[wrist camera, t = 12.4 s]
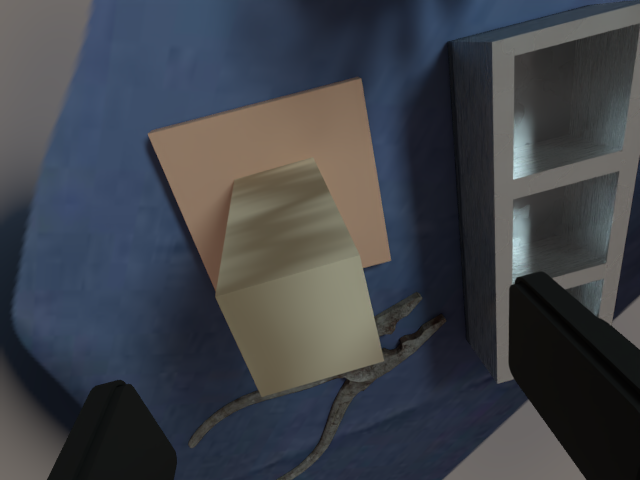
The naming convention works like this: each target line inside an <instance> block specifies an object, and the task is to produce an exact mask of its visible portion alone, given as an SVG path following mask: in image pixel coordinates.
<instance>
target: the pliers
mask: <svg viewBox="0 0 640 480" xmlns="http://www.w3.org/2000/svg"><path fill="white" fill-rule="evenodd" d="M421 300H422V297H421V295H420V293H418V292H416V293H414V294H412V295H411V296H409V297H407V298H405V299H404V300H402V301H400V302H399V303H397V304H395V305H393V306H392V307H390V308H388V309H387V310H385V311H383V312H381V313H380V314H378V315H376V316H375V317H374V319H375V323H376V327H377V332H378V336H379V337H380V336H382V335H383V334H392V333H393V332H394V330H395V327H396V326H395V325H396V324H397V322H398V321H399V320H400V319H402V318H404V317H406V316H408V314H409V313H410V312H411V311H412V310H413V309H414V308H415V306H416V305H417V304H418V303H419V302H420V301H421ZM445 322H446V319H445V318H444V316H443V315H442V314H440V315H438V316H437V317H435V318H433V319H432V320H430V321H428V322H427V323H425V324H423V325H422V326H421V328H420V329H419V330H418V331H417V332H416V333H414V334H410V335H405V336H403V337H401V338H400V345H399V346H398V347H397V348H396V349H392V350H388V349H385V348H382V353H383V358H384V361H383V362H380V363H376V364H373V365H370V366H366V367H363V368H359V369H356V370H353V371H349V372H346V373H342V374H339V375H335V376H332V377H329V378H325V379H322V380H318V381H315V382H312V383H308V384H305V385H301V386H298V387H295V388H291V389H288V390H284V391H281V392H278V393H274V394H271V395H267V396H264V397H261V395H260V392H259V390H258V391H255V392H252V393H250V394H247V395H245V396H242V397H240V398H238V399H236V400H234V401H232V402H230V403H229V404H227V405H226V406H224V407H223V408H221V409H220V410H218V411H217V412H216V413H214V414H213V415H212V416H211V417H209V418H208V419H207V420H206V421H205V422H204V423H203V424H202V425H201V426H200V427H199V428H198V429H197V430H196V432H195V433H194V434H193V436H192V437H191V439H190V441H189V444H188V445H189V447H190V448H193V447H195V446H196V445H197V444H198V442H199V441H200V440H201V439H202V438H203V436H204V435H205V434H206V433H207V432H208V431H209V430H210V429H211V428H212V427H213V426H214V425H216V424H217V423H218V422H220V421H221V420H223V419H224V418H225V417H227V416H229V415H230V414H232V413H234V412H235V411H238V410H240V409H242V408H244V407H246V406H249V405H252V404H255V403H258V402H261V401H265V400H268V399H271V398H275V397H279V396H283V395H286V394H290V393H294V392H298V391H302V390H305V389H308V388H312V387H314V386H317V385H319V384H322V383H325V382H327V381H330V380H333V379H336V378H344V377H345V378H347V380H346V381H345V383H344V384H343V386H342V387H341V389H340V391H339V393H338V394H337V396H336V398H335V400H334V403H333V405H332V408H331V411H330V414H329V417H328V420H327V423H326V426H325V429H324V431H323V434H322V436H321V439H320V441H319V443H318V444H317V446H316V447H315V449H314V450H313V451H312V453H311V454H310V455H309V456H308V457H307V458H306V459H305V460H304V461H303V462H302V463H300V464H299V465H298V466H297V467H295V468H294V469H293V470H291V471H290V472H288V473H286V474H285V475H283V476H281V477H280V478H278V479H277V480H292V479H294V478H295V477H296V476H298V475H299V474H301V473H302V472H304V471H305V470H306V469H307V468H308V467H310V466H311V465H312V464H313V463H314V462H315V461H316V460H317V459H318V458H319V457H320V456H321V455H322V454H323V452H324V451H325V450H326V449H327V447H328V446H329V444H330V442H331V441H332V439H333V437H334V435H335V433H336V431H337V428H338V426H339V424H340V422H341V420H342V418H343V415H344V413H345V411H346V409H347V407H348V406H349V404H350V402H351V401H352V399H353V398H354V396H355V395H356V394H357V393H359V392H360V391H364V390H365V389H366V388H367V387H368V386H369V385H370V384H371V383H372V382H373V381H374V380H376V379H377V377H378V378H379V377H380V376H382V375H384V374H385V373H387V372H389V371H390V370H392V369H393V368H394V367H396V366H397V365H398V364H400V363H401V362H402V361H404V360H405V359H406V358H408V357H409V356H410V355H412V354H413V353H414V352H415V351H416V350H417V349H418V348H419V347H420V346H421V345H422V344H423V343H425V342H426V341H427V340H428V339H429V338H430V337H431V336H432V335H433V334H434V333H435V332H436V331H437V330H438V329H439V328H440V327H441V326H442V325H443V324H444V323H445Z"/></svg>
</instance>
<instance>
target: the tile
mask: <svg viewBox="0 0 640 480" xmlns="http://www.w3.org/2000/svg"><path fill="white" fill-rule="evenodd" d="M148 136H149V138H150V140H151V143H152V145H153V147H154V150H155V152H156V154H157V157H158V159H159V161H160V164H161V166H162V168H163V171H164V173H165V175H166V177H167V180H168V182H169V184H170V187H171V189H172V191H173V194H174V196H175V198H176V201H177V203H178V205H179V208H180V210H181V212H182V215H183V217H184V219H185V222H186V224H187V226H188V228H189V231H190V233H191V235H192V238H193V240H194V242H195V245H196V247H197V249H198V252H199V254H200V256H201V259H202V261H203V263H204V266H205V268H206V270H207V273H208V275H209V277H210V279H211V282H212V284H213V286H214V289H215V291H216V289H217V283H218V277H219V271H220V264H221V258H222V252H223V246H224V240H225V234H226V228H227V222H228V216H229V210H230V203H231V197H232V191H233V185H234V180H235V179H238V178H242V177H245V176H249V175H252V174H256V173H259V172H263V171H266V170H270V169H273V168H277V167H280V166H284V165H287V164H291V163H294V162H298V161H301V160H305V159H308V158H312V157H313V158H314V160H315V162H316V164H317V166H318V169H319V171H320V173H321V175H322V177H323V179H324V181H325V183H326V185H327V187H328V190H329V192H330V194H331V196H332V198H333V200H334V202H335V204H336V206H337V208H338V211H339V213H340V215H341V217H342V219H343V221H344V223H345V225H346V227H347V229H348V231H349V234H350V236H351V238H352V240H353V242H354V244H355V246H356V248H357V250H358V252H359V255H360V258H361V263H362V267H363V268H365V267H369V266H373V265H377V264H380V263H384V262H388V261H391V257H390V251H389V245H388V239H387V233H386V226H385V220H384V214H383V208H382V202H381V196H380V190H379V184H378V178H377V171H376V165H375V159H374V153H373V147H372V141H371V135H370V129H369V122H368V116H367V110H366V104H365V98H364V92H363V86H362V80H361V78H359V77H355V78H351V79H347V80H343V81H340V82H336V83H332V84H328V85H324V86H320V87H316V88H313V89H309V90H305V91H301V92H297V93H293V94H290V95H286V96H282V97H278V98H274V99H270V100H267V101H263V102H259V103H255V104H251V105H247V106H244V107H240V108H236V109H232V110H228V111H224V112H221V113H217V114H213V115H209V116H205V117H201V118H197V119H194V120H190V121H186V122H182V123H178V124H174V125H171V126H167V127H163V128H159V129H155V130H152V131H151V132H149V133H148Z"/></svg>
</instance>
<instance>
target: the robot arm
mask: <svg viewBox="0 0 640 480" xmlns="http://www.w3.org/2000/svg"><path fill="white" fill-rule="evenodd" d="M508 364H509V369H510V372H511V374H512V376H513V378H514V379H515V381H516V382H517V384H518V385H519V386H520V388H521V389H522V390H523V392H524V393H525V395H526V396H527V397H528V399H529V400H530V402H531V403H532V404H533V406H534V407H535V409H536V410H537V411H538V413H539V414H540V416H541V417H542V418H543V420H544V421H545V422H546V424H547V425H548V427H549V428H550V429H551V431H552V432H553V433H554V435H555V436H556V438H557V439H558V441H559V442H560V443H561V445H562V446H563V448H564V449H565V450H566V452H567V453H568V455H569V456H570V457H571V459H572V460H573V461H574V463H575V464H576V466H577V467H578V468H579V470H580V471H581V473H582V474H583V475H584V477H585V478H586V480H640V350H639V349H638V348H637V347H636V346H635V345H633V344H632V343H631V342H630V341H628V340H627V339H626V338H625V337H624V336H623V335H622V334H620V333H619V332H618V331H617V330H615V328H613V327H612V326H611V325H610V324H609V323H607V322H606V321H604V320H603V319H601V318H598V317H597V316H595V315H594V314H593V313H592V312H591V311H590V310H588V309H587V308H586V307H585V306H584V305H583V304H581V303H580V302H579V301H578V300H577V299H576V298H574V297H573V296H572V295H571V294H570V293H569V292H567V291H566V290H565V289H564V288H563V287H562V286H560V285H559V284H558V283H557V282H556V281H555V280H553V279H552V278H551V277H550V276H549V275H548V274H546V273H545V272H542V271H540V272H536V273H532V274H528V275H524V276H520V277H517V278H516V280H515V284H514V285H511V286H510V287H509V353H508ZM176 465H177V457H176V452H175V450H174V448H173V447H172V445H171V444H170V442H169V440H168V439H167V437H166V436H165V434H164V433H163V431H162V430H161V428H160V427H159V425H158V424H157V422H156V421H155V419H154V418H153V416H152V414H151V413H150V411H149V410H148V408H147V407H146V405H145V404H144V402H143V401H142V399H141V398H140V396H139V395H138V393H137V392H136V390H135V388H134V387H133V386H132V385H131V384H126V383H125V382H124V381H122V380H117V381H113V382H109V383H105V384H101V385H97V386H95V387H94V388H92V390H91V391H90V393H89V395H88V397H87V399H86V401H85V403H84V405H83V408H82V410H81V412H80V414H79V416H78V418H77V420H76V422H75V424H74V426H73V428H72V430H71V432H70V434H69V436H68V438H67V440H66V442H65V444H64V447H63V448H62V450H61V453H60V454H59V456H58V458H57V460H56V462H55V465H54V467H53V469H52V471H51V473H50V475H49V477H48V479H47V480H174V475H175V470H176Z"/></svg>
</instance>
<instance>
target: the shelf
mask: <svg viewBox="0 0 640 480" xmlns="http://www.w3.org/2000/svg"><path fill="white" fill-rule="evenodd" d="M448 57H449V73H450V88H451V104H452V120H453V135H454V151H455V167H456V183H457V198H458V214H459V230H460V245H461V261H462V277H463V293H464V308H465V324H466V340H467V341H468V343H469V344H470V345H471V347H472V348H473V350H474V351H475V353H476V354H477V355H478V357H479V358H480V360H481V361H482V363H483V364H484V365H485V367H486V368H487V370H488V371H489V373H490V374H491V376H492V377H493V378H494V380H495V381H496V383H497V384H499V383H502V382H506V381H509V380H513V379H514V378H513V376H512V374H511V372H510V369H509V364H508V353H509V287H510V286H511V285H514V284H515V280H516V278H517V277H520V276H524V275H528V274H532V273H536V272H540V271H542V272H545V273H546V274H548V275H549V276H550V277H551V278H552V279H553V280H555V281H556V282H557V283H558V284H559V285H560V286H562V287H563V288H564V289H565V290H566V291H567V292H569V293H570V294H571V295H572V296H573V297H574V298H576V299H577V300H578V301H579V302H580V303H581V304H583V305H584V306H585V307H586V308H587V309H588V310H590V311H591V312H592V313H593V314H594V315H595V316H597V317H598V318H601V319H603V320H604V321H606V322H607V323H609V324H610V325H611V326H612V320H613V314H614V308H615V302H616V296H617V290H618V283H619V277H620V271H621V265H622V259H623V253H624V247H625V241H626V235H627V229H628V223H629V217H630V211H631V204H632V198H633V192H634V186H635V180H636V174H637V168H638V162H639V156H640V0H632V1H622V2H613V3H603V4H594V5H587V6H583V7H579V8H576V9H572V10H568V11H564V12H560V13H556V14H552V15H549V16H545V17H541V18H537V19H533V20H529V21H525V22H522V23H518V24H514V25H510V26H506V27H502V28H499V29H495V30H491V31H487V32H483V33H479V34H475V35H472V36H468V37H464V38H460V39H456V40H452V41H448Z"/></svg>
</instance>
